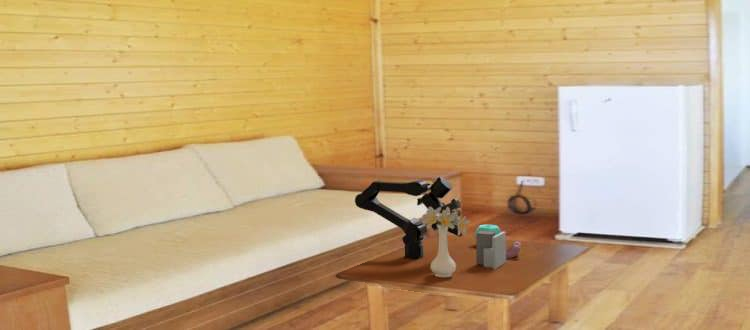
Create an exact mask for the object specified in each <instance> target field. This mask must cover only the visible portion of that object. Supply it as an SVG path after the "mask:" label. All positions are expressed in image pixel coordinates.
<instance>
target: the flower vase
mask: <svg viewBox="0 0 750 330" xmlns="http://www.w3.org/2000/svg"><path fill="white" fill-rule="evenodd" d="M455 210H456V209H455V208H454V210H453V211H454V212H453V213H451V214H450V209H449V207H447V208H446V211H445V210H443V211H442V214H441V213H439V212H440V211H441V207H439V208H437V209H436V210H434V209H433V208H432V207H429V208H428V209H426V212H425V213H424V214H423V215H422V218H423V219H422V221H421V222H422V223H423V224H424V225H426V224H427V225H426V228H427V230H429V229H430V228H432V224H433V223H436V222H437V223H438V224H437V227H438V230H437V231H438V252H437V255H436V257H435V258H434V259H433V260H432V261H431V263H430V267H429V268H430V270H431V271H432V272H433V273H434V276H435V277H437V278H450V277H452V275H453V273H454V272H455V271H456V269H457V263H456V262H455V261H454V260H453V259H452V257H451V256H450V253H449V250H448V249H449V248H448V227H450V228H452V229H454V225H453V224H455V225H458V226H457V227H458V236H457V237H459V235H460V234H461V233H462V234H466V233H467V226H468V225H469V224H470V223H471V219H467V216H466V215H465V216H463V217H462V219H460V216H459V217H458V213H457V211H455ZM466 219H467V220H466ZM436 220H437V221H436ZM440 222H441V223H440ZM452 223H453V224H452Z"/></svg>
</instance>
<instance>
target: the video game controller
mask: <svg viewBox="0 0 750 330" xmlns="http://www.w3.org/2000/svg"><path fill="white" fill-rule="evenodd" d="M521 246H522V243H521V242H519V241H515V242H513V243H512V245H510V246H509V247H508V248H506V259H512V258H516V257H517V255H518V254H519V253H520V254H521V252H522V250H521V248H522V247H521Z"/></svg>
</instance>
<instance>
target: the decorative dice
mask: <svg viewBox="0 0 750 330" xmlns="http://www.w3.org/2000/svg"><path fill="white" fill-rule="evenodd" d="M480 231H488V232H495V235H497V234H499V233H501V232H502V231H501V229H500V227H499V226H498V225H495V224H481V225H479V226H478V227H477V229H476V230H475V239H476V233H478V232H480Z"/></svg>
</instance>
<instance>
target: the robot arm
mask: <svg viewBox="0 0 750 330" xmlns="http://www.w3.org/2000/svg"><path fill="white" fill-rule="evenodd" d="M452 189H453V186H452V183H451V182H450V181H449V180H447V179H445V178H443V177H442V176H439V177H437V178H436V179H435V181H434V182H433V183H427V182H426V181H425V180H423V179H418V180H413V181H412V180H411V181H406V182H405V181H402V182H401V181H384V180H376V181H372V182H371V184H370V185H368V186H367V187H366V188H364V190H363V191H361V193H359V194H356V196H355V198H354V203H355V205H356V207H357V208H359V209H361V210H365V211H369V212H372V213H375V214H377V216H380V217H382V218H383V219H385V220H387V221H389V223H391V224H392V225H395V226H397V227H399V228H400V229H401V230H402V231H403V233H404V234H405V235H404V236H403V237H402V238H401V239H402V242H403V244H404V256H402V258H403V259H414V260H416V259H417V260H419V259H421V258H422V257H424V245H423V242H422V241H423V240H424V237H425V236H426V235H427V234H428V229H427V225H426V224H423V223H422V221H421V220H419V219H418V218H417V217H413V218H411V219H408V218H407V217H405V216H403V215H402V214H400V213H398V212H396V211H395V210H393V209H391V208H390V207H388V206H387V205H385V204H383V203H381V202H380V201H379V199H378V195H379V194H380V192H392V193H404V194H406V195H409V196H413V197H418V198H417V199H416V200H417V202H416V206H420V205H421V206H422V205H423V206H424V207H425V208H426V210H428V208H429V207H432V208H433V209H434V210H436V209H437V208H439V207H441V211H440V212H439V213H441V214H442V211H443V210H445V211H446V208H447V207H449V209H450V214H451V213H453V212H454V208H455V211H457V213H458V217H459V218H460V216H462V214H463V212H462V211H461V210H460V208H462V205H461V203H462V201H460V199H458V198H457V197H456V198H452V199H451V200H450V201H451V202H449V203H445V202H442V201H441V200H440V199H443V198H444V197H446V195H448V194H449V193H450V191H452ZM427 192H428V193H427ZM419 196H421V197H419ZM436 221H437V220H436ZM440 223H441V222H440ZM437 224H438V223H437V222H436V223H433V224H432V225H431V229H432V230H433V231H435V232H436V231H438V227H437ZM452 224H453V223H452ZM453 225H454V229H452V228H450V227H448V231H447V233H450V234H453V235H455V236H457V237H460V238H461V237H463V232H461V234H460V235H459V236H458V227H457V226H458V225H455V224H453Z"/></svg>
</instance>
